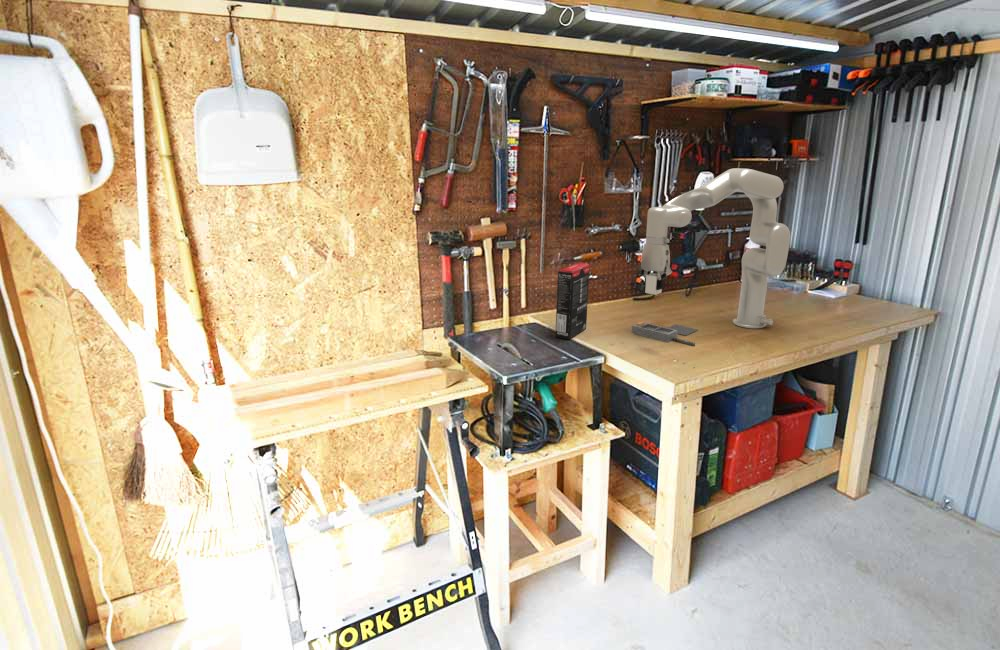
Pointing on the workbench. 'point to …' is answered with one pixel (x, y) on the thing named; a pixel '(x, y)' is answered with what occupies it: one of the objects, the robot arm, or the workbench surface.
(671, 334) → the power strip
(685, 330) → the mat
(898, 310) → the workbench surface
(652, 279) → the block
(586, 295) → the graphics card box
